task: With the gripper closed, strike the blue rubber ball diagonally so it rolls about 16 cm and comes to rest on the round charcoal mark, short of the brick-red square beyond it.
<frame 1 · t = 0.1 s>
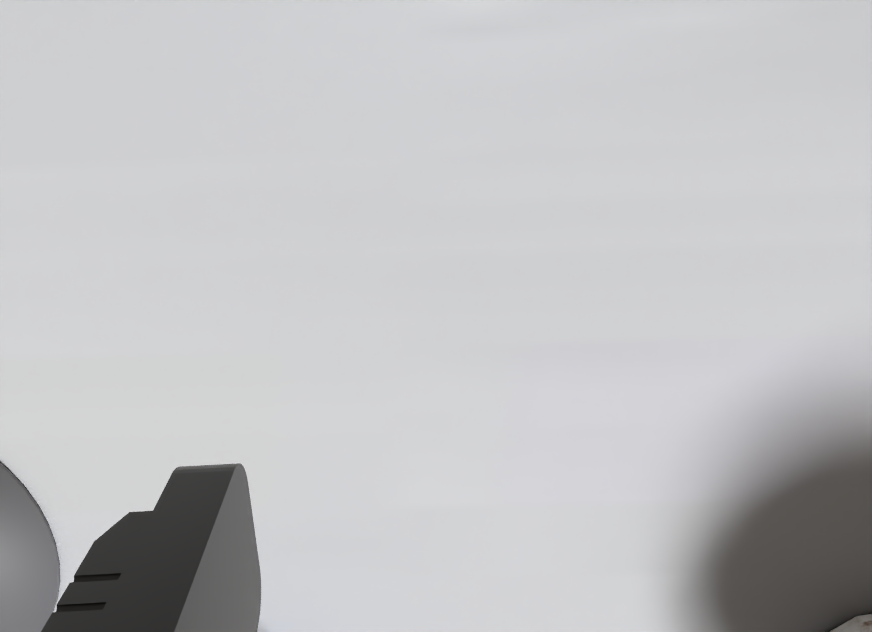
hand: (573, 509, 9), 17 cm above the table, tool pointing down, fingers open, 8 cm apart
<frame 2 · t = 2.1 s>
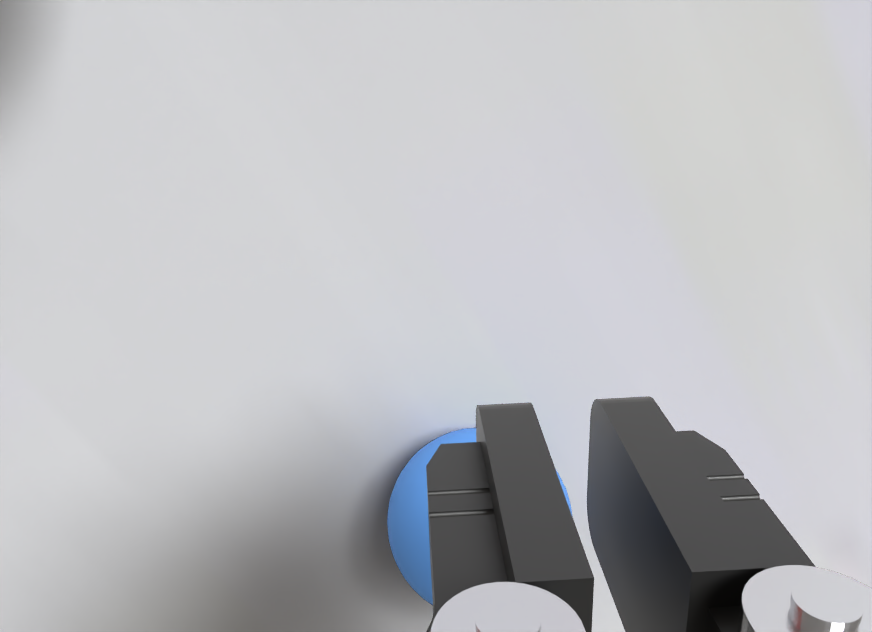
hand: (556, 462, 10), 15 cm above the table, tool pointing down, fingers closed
ball: (479, 520, 25), on the table
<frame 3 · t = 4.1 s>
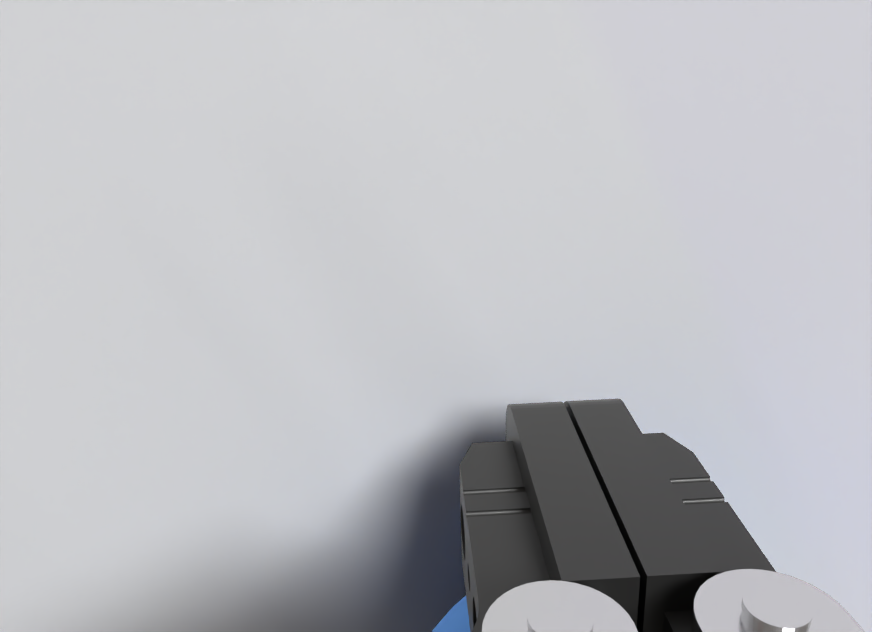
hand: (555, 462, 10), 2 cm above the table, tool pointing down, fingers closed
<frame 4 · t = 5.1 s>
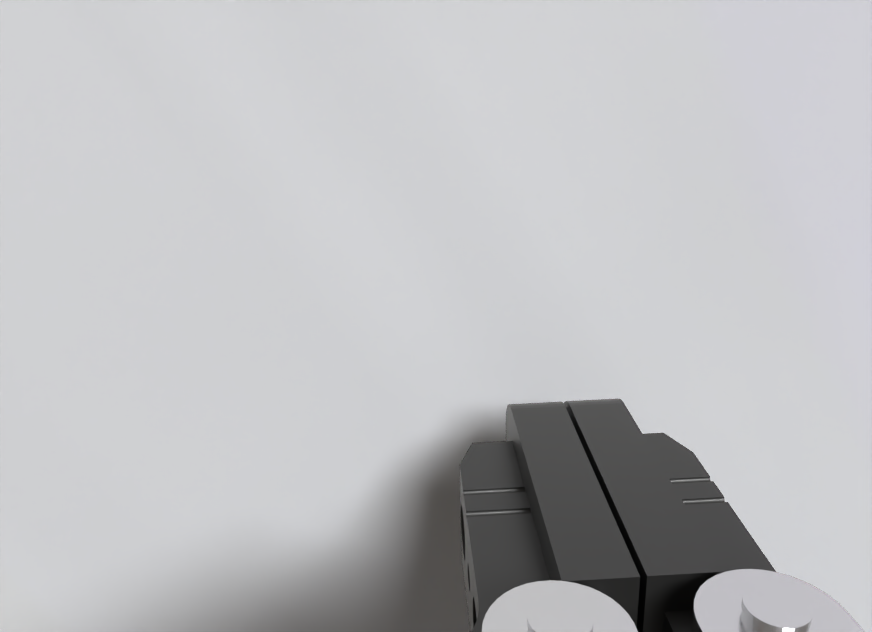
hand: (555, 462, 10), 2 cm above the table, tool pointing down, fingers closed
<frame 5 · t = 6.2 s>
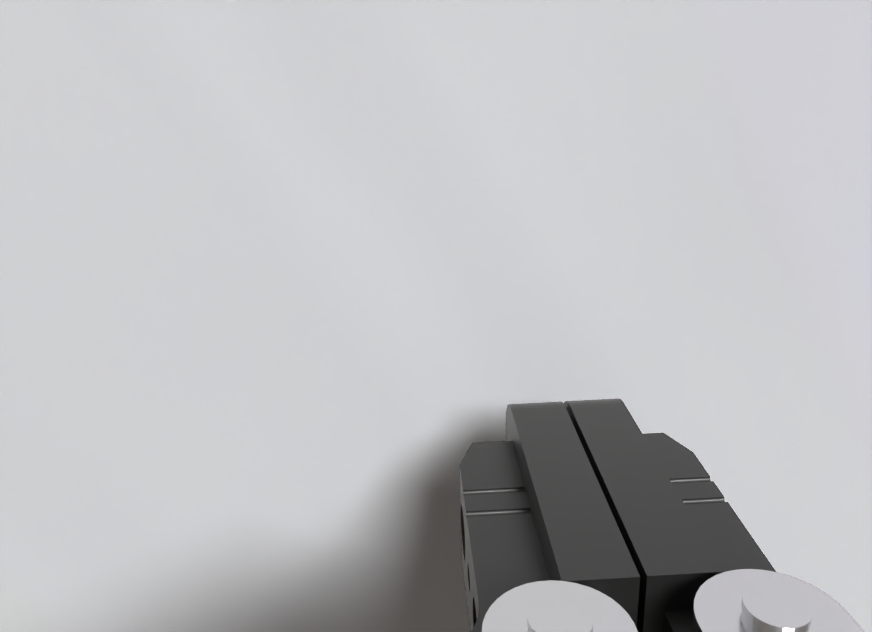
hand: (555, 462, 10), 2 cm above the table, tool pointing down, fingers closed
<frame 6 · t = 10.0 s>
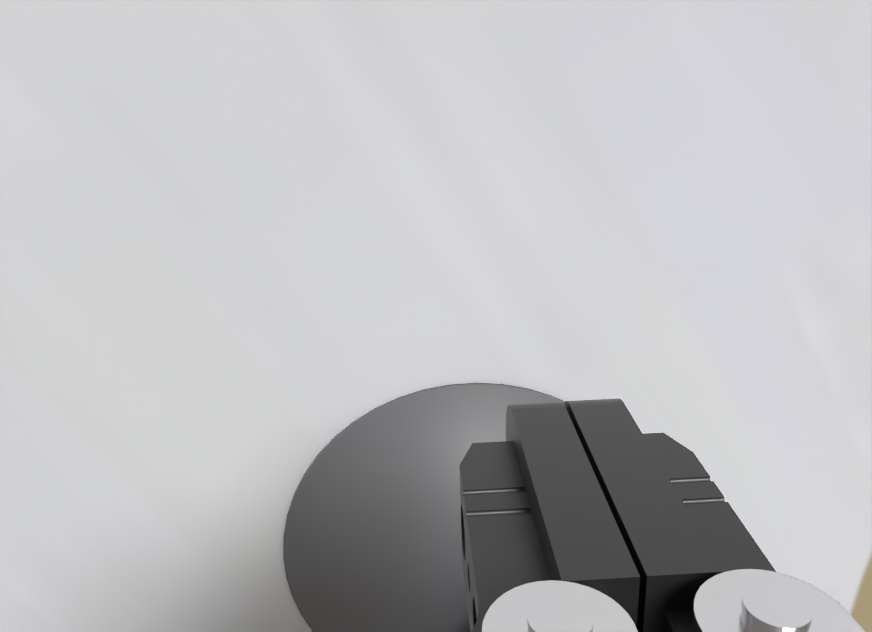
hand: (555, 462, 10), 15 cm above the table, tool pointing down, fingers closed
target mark: (470, 550, 29), on the table
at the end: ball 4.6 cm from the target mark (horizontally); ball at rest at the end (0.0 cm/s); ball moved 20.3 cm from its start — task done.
